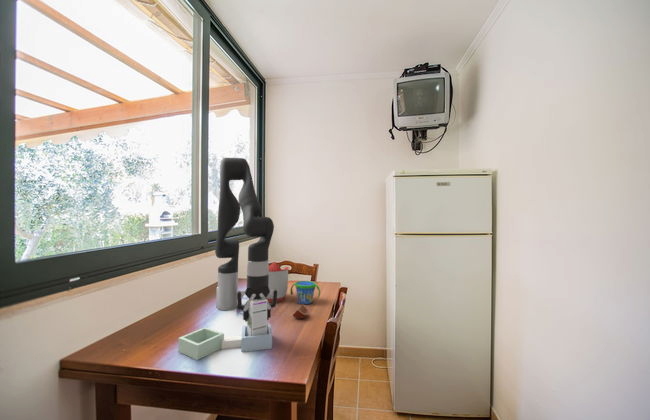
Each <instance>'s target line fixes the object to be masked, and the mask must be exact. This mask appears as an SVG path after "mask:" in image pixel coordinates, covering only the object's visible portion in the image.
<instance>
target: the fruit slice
mask: <svg viewBox="0 0 650 420" xmlns="http://www.w3.org/2000/svg"><path fill="white" fill-rule="evenodd" d="M309 313H310V312H309V309H308V307H307V306H306V304H301V305H300V306H299V307H298V308H297V310H295V312H294V313H293V314H292V316H293V317H294V318H295V319H298V320H299V319H304V318H306V317H307V316H308V315H309Z"/></svg>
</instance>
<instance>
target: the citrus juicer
mask: <svg viewBox="0 0 650 420" xmlns="http://www.w3.org/2000/svg"><path fill="white" fill-rule="evenodd" d="M289 269H290V268H289V266H285V267H284V269H281V267H280V265H279V264H277V262H272V263H271V264H269V284H268V287H269V289H270V290H274V289H277V301H276V303H279V302H283V301H284V300H285V299H286V297H287V293H288V288H289ZM266 298H267V299H268V301H269V303H272V301H273V296H272V295H271V293H269V294H268V296H267V297H266Z"/></svg>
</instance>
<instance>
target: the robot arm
mask: <svg viewBox="0 0 650 420" xmlns="http://www.w3.org/2000/svg"><path fill="white" fill-rule="evenodd" d="M252 177H253V176H252V172H251V167H250V164H249V162H248V160H247V159H246V158H243V157H222V159H221V160H220V163H219V199H218V201H219V203H218V211H217V234H216V241H215V248H214V254H215V256H216V257H217V258H218V259H230V260H229V261H227V262H225V263H224V264H221V265H219V266H218V268H217V287H216V295H215V296H216V298H215V300H216V301H215V304H216V305H215V307H216V308H217V310H220V311H231V310H234V309H236V308H237V310H241V311H243V314H242V319H243V321H245V322H246V323H247V312H248V307H249V306H250V301H252V300H254V299H267V298H266V297H267V296H268V294H269V293H271V295H272V296H273V301H272V302H269V301H268V299H267V321H268V320H269V319H271V316H272V315H271V314H272V313H271V312H272V309H273V308H277V302H276V301H277V289H274V290H270V289H269V287H268V284H269V266H270V263H269V248H270V244H271V240H272V237H273V234H274V228H275V224H274V221H273V220H272V218H270V217H269V216H268V217H267V216H260V215H261V214H262V212H263V209H262V206H261V204H260V201H259V198H258V196H257V193H256V190H255V187H254V181H253V178H252ZM230 181H242V182H243V184H242V187H241V189H240V191H239V193H238V198H237V197H236V196H235V194H234V193H233V191H232V189H231V186H230ZM241 212H242V218H243V223H242V224H243V225H242V228H243V229H242V230H243V232H244V234H245V236H247V237H251V238H257V237H259V239H258V241H256V242H254V243H251V244H249V245H248V249H247V266H246V289H245V290H238V289H239V285H238V284H239V258H240V257H239V255H240V254H239V253H240V242H239V240H238V238H226V237H227V235H228V233H229V232H230V231H232V229H233V228H234V227H235V226H236V225H237V223H239V220H240V214H241ZM244 296H246V297H247V298H249V300H246V302H245V304H244V305H243V303H242V301H243V300H242V298H244Z"/></svg>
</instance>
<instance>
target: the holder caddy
mask: <svg viewBox="0 0 650 420" xmlns="http://www.w3.org/2000/svg"><path fill="white" fill-rule="evenodd" d="M177 343H178V344H177V345H178V346H177V348H178V350H177V351H178V353H180V354H182V355H185V356H187V357H190V358H192V359H194V360H196V361H198V359H199V360H201V359H202V357H203V358H204V356H205V357H206V356H209V355H210V354H212V353H215V352H217V351H218V350H220V349H221V350H225V349H234V348H241V350H240V351H241V353H243V352H244V353H245V352H251V351H261V350H270V349H273V332H272V326H271V323H267V334H265V335H255V336H247V325H242V329H241V335H236V336H235V335H234V336H226V337H225V333H223V332H221V331H218V330H215V329H212V328H209V327H202V328H200V329H197V330H195V331H192V332H189V333H187V334H184V335H183V336H182V335H181V336H180V337H178V342H177ZM200 358H201V359H200Z"/></svg>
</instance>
